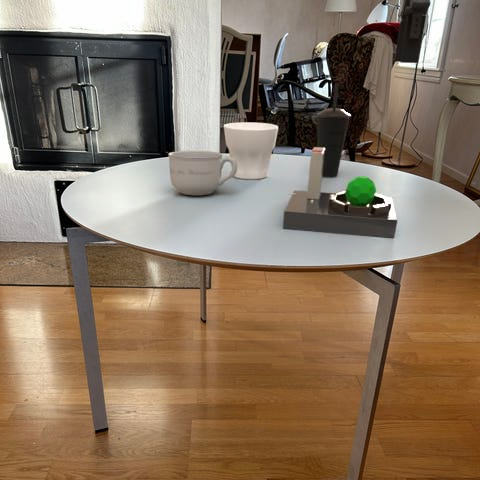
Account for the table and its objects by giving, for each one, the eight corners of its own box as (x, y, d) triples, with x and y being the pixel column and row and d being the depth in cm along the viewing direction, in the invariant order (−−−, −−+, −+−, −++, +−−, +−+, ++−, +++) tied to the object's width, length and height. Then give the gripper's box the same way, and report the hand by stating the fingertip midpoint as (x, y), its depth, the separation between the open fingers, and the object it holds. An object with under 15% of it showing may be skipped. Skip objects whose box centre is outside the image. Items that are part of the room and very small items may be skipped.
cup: (212, 176, 113) (212, 125, 107) (242, 167, 122) (243, 120, 116) (258, 184, 107) (259, 131, 101) (285, 174, 116) (288, 125, 110)
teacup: (160, 195, 97) (157, 153, 93) (187, 183, 106) (186, 145, 102) (221, 204, 92) (221, 161, 88) (244, 192, 101) (245, 152, 97)
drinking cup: (339, 171, 120) (349, 82, 110) (346, 178, 113) (358, 84, 103) (308, 171, 119) (316, 81, 110) (314, 178, 113) (323, 83, 103)
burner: (387, 202, 84) (389, 193, 84) (391, 219, 76) (392, 209, 75) (330, 198, 86) (331, 189, 85) (327, 214, 78) (328, 204, 77)
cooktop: (388, 211, 90) (391, 194, 89) (394, 238, 77) (397, 219, 76) (290, 203, 94) (291, 187, 92) (279, 228, 80) (280, 209, 79)
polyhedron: (346, 210, 79) (350, 180, 76) (341, 201, 83) (344, 173, 81) (377, 210, 79) (381, 181, 76) (369, 202, 83) (374, 174, 81)
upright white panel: (309, 191, 90) (313, 145, 86) (320, 192, 89) (325, 146, 85) (307, 198, 86) (311, 150, 82) (318, 199, 85) (323, 151, 81)
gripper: (399, -76, 85) (379, 60, 95) (413, -120, 63) (387, 62, 74) (443, -77, 84) (419, 61, 94) (474, -122, 62) (438, 64, 73)
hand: (405, 62), depth 84 cm, fingers open, 13 cm apart
